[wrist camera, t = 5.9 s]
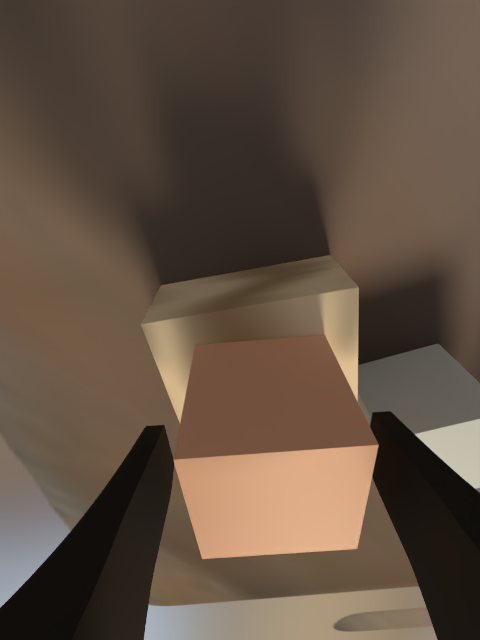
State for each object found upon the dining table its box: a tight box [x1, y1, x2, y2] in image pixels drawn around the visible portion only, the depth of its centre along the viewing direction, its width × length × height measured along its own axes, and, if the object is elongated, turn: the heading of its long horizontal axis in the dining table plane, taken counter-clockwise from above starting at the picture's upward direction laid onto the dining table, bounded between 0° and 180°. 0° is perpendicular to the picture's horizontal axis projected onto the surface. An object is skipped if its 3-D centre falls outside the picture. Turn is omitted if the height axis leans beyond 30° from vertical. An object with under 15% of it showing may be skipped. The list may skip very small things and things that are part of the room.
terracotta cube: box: [173, 335, 379, 559], centre depth 11 cm, size 5×5×5 cm
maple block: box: [141, 255, 359, 422], centre depth 15 cm, size 8×8×4 cm
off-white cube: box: [358, 344, 480, 489], centre depth 16 cm, size 5×5×5 cm
